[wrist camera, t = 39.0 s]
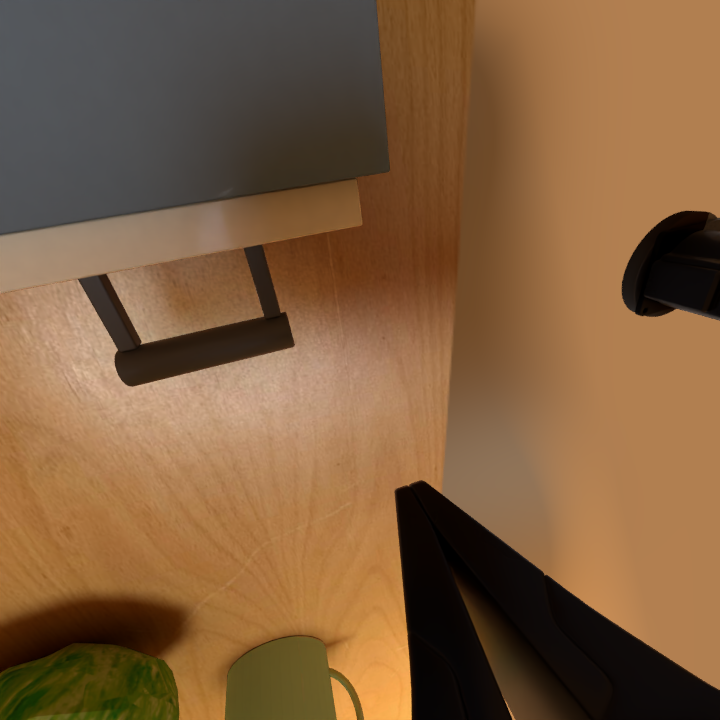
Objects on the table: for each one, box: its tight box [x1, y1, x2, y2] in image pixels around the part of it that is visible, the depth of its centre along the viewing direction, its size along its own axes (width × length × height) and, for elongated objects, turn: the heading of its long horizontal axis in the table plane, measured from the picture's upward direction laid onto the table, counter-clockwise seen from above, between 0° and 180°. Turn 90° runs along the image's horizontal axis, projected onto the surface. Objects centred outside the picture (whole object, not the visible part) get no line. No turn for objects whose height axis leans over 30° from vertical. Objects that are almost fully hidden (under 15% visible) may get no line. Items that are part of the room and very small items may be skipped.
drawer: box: [0, 178, 362, 386], centre depth 9 cm, size 18×11×7 cm, turn 8°
